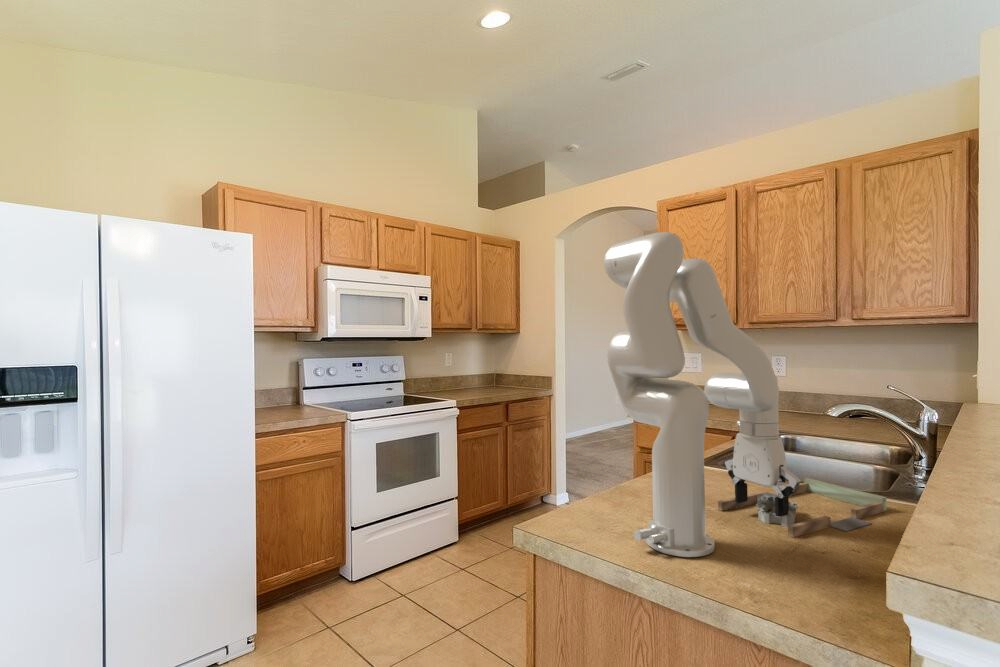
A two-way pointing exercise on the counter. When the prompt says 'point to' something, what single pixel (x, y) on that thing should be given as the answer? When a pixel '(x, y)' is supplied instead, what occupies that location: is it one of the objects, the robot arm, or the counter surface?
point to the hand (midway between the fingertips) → (760, 508)
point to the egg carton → (769, 503)
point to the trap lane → (868, 507)
